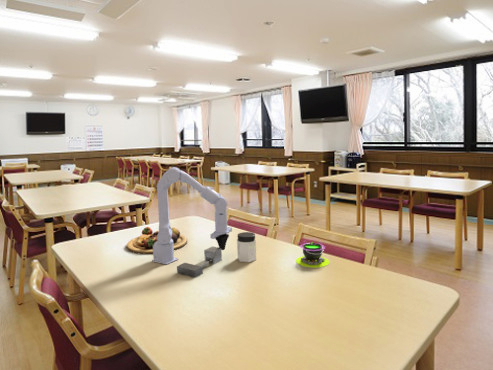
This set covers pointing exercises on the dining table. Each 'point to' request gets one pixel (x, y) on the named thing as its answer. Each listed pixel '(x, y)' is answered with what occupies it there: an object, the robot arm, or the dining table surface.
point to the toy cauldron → (312, 256)
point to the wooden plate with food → (153, 241)
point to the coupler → (192, 269)
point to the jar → (246, 247)
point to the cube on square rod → (213, 254)
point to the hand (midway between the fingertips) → (222, 249)
